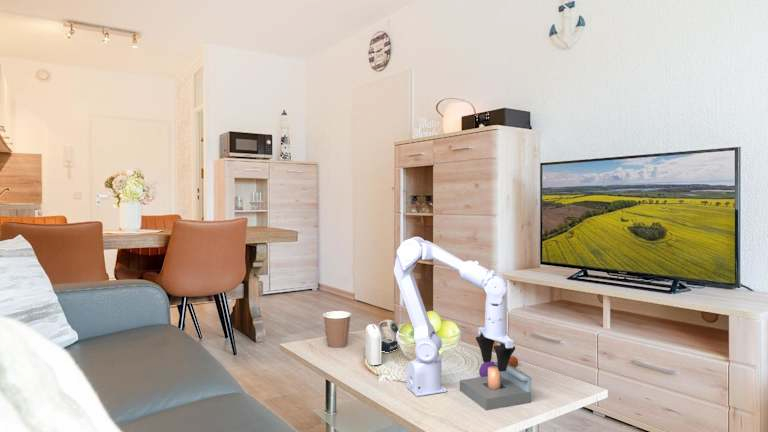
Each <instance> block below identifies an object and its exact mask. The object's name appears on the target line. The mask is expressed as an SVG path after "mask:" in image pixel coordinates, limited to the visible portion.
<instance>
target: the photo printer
mask: <svg viewBox="0 0 768 432" xmlns="http://www.w3.org/2000/svg"><path fill="white" fill-rule="evenodd" d="M364 337H365V343H364V344H365V347H364V348H365V358H366V360H367V362H368V364H369V365H370V366H372V365H375V364H379V363H381V364H382V352H381V342H382V340H381V332H380V329H379V328H378V325H377V324H374V323H372V324H371V323H370V324H367V326H366V327H365V336H364Z"/></svg>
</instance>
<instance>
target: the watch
mask: <svg viewBox="0 0 768 432" xmlns="http://www.w3.org/2000/svg"><path fill="white" fill-rule="evenodd" d="M384 323H386V325H387V331H388V332H389V334H390V335H391V336H392V339H387V336H386V334H385V331H384V328H383V325H384ZM377 327H378V328H379V329H380V332H381V351H385V352H390V351H393V350H396V349H397V350H398V340H397V339H396V333H397V331H398V330H399V329H400V326H399V325H398V323H397V322H396V321H395V320H392V319H385V320H382V321H380V322H379V324H378V325H377ZM397 350H396V351H397ZM393 352H394V351H393Z"/></svg>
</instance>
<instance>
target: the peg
mask: <svg viewBox="0 0 768 432" xmlns="http://www.w3.org/2000/svg"><path fill="white" fill-rule="evenodd" d="M500 387H501V372H500V371H498V367H496V366H490V367H488V388H489V389H490V390H497V389H500Z"/></svg>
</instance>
